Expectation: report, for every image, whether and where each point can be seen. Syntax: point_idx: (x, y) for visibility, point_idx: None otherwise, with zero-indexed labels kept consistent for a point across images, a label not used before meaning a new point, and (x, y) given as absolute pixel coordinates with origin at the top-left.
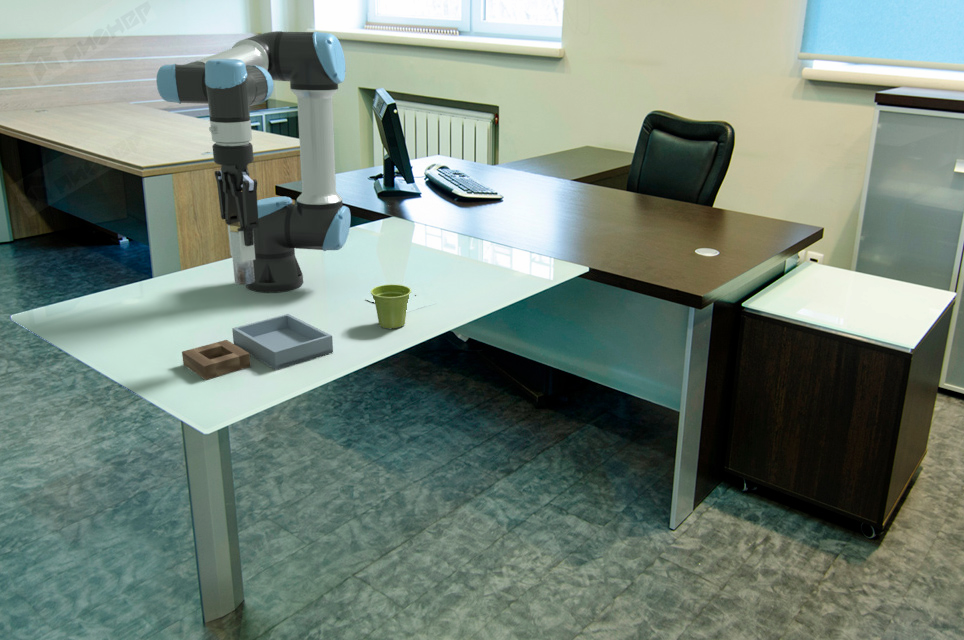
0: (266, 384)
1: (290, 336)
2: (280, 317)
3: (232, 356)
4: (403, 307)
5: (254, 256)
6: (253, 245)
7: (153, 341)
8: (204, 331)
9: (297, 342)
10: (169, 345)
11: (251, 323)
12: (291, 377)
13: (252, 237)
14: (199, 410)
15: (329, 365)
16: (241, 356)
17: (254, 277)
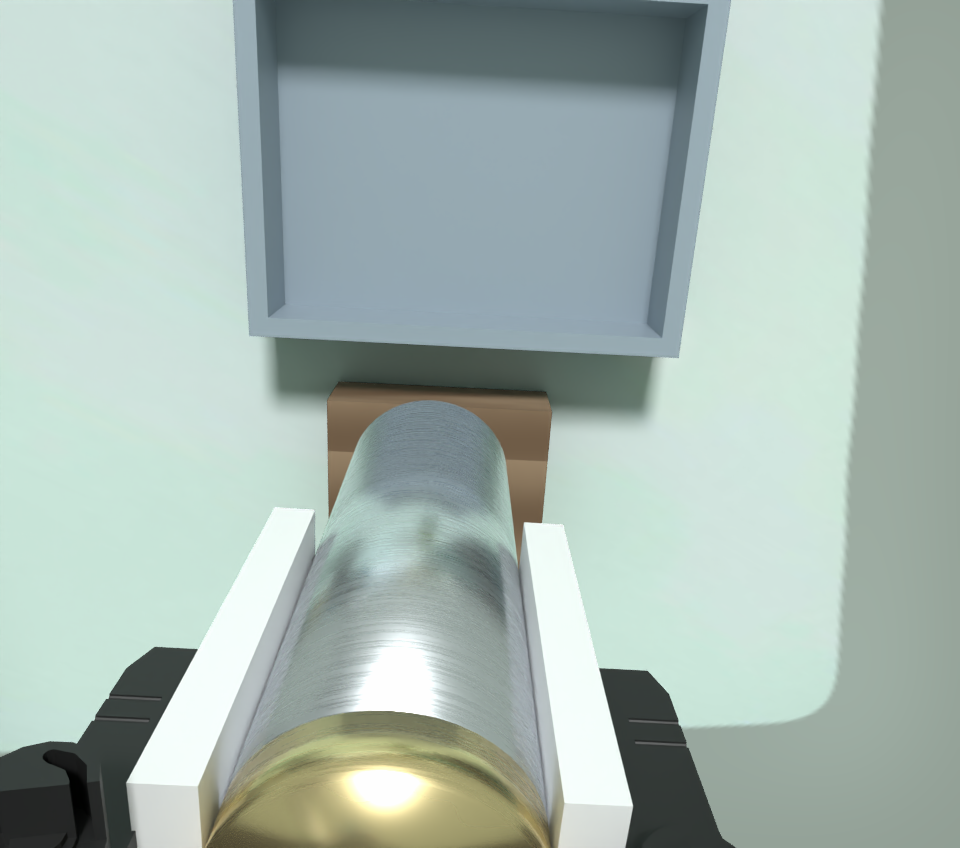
0: (737, 438)
1: (404, 67)
2: (257, 27)
3: (527, 481)
4: None
5: (567, 549)
6: (582, 624)
7: (17, 537)
8: (18, 325)
9: (503, 92)
10: (102, 512)
11: (247, 222)
12: (765, 331)
13: (690, 765)
14: (725, 688)
15: (804, 123)
16: (548, 449)
17: (476, 426)
